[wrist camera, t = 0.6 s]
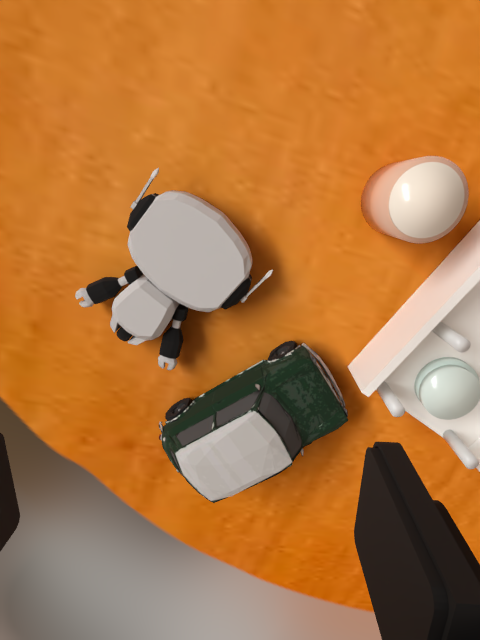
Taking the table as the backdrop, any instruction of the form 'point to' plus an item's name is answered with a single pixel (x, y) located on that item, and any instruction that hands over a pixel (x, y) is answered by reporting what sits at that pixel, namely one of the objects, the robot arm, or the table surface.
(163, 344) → the robot toy
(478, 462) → the rack
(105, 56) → the table surface
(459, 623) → the robot arm
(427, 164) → the tumbler
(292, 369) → the miniature car
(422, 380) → the mint green dome knob
